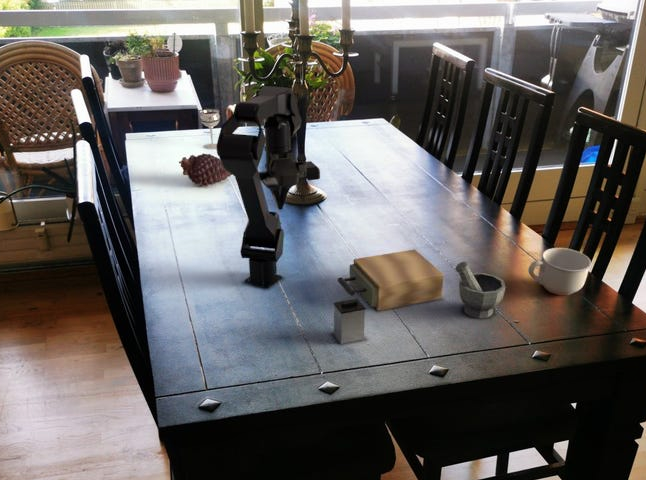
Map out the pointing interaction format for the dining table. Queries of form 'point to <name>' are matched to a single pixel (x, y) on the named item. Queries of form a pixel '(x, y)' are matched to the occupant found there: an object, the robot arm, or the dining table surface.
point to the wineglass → (210, 122)
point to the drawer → (360, 285)
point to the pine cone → (204, 169)
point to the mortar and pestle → (479, 291)
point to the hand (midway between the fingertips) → (280, 209)
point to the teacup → (561, 270)
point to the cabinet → (402, 278)
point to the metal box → (349, 320)
